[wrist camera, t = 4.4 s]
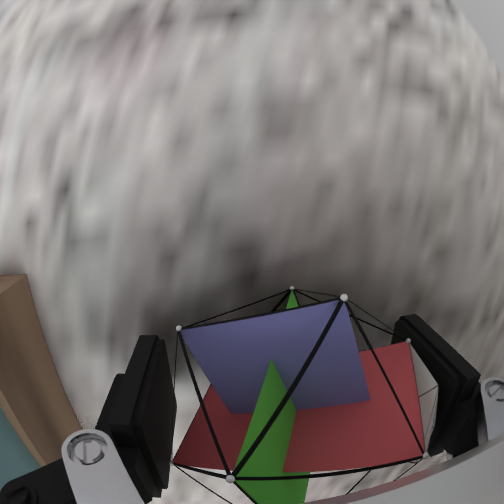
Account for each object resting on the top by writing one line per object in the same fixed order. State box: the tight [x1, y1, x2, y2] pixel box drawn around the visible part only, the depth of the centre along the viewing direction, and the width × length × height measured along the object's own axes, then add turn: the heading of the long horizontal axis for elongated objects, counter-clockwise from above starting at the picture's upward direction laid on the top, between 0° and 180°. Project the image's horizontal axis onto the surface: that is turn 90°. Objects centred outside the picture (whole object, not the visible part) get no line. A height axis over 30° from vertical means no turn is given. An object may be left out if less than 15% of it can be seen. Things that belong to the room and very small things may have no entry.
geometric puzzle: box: [169, 286, 439, 504], centre depth 8 cm, size 7×7×8 cm
